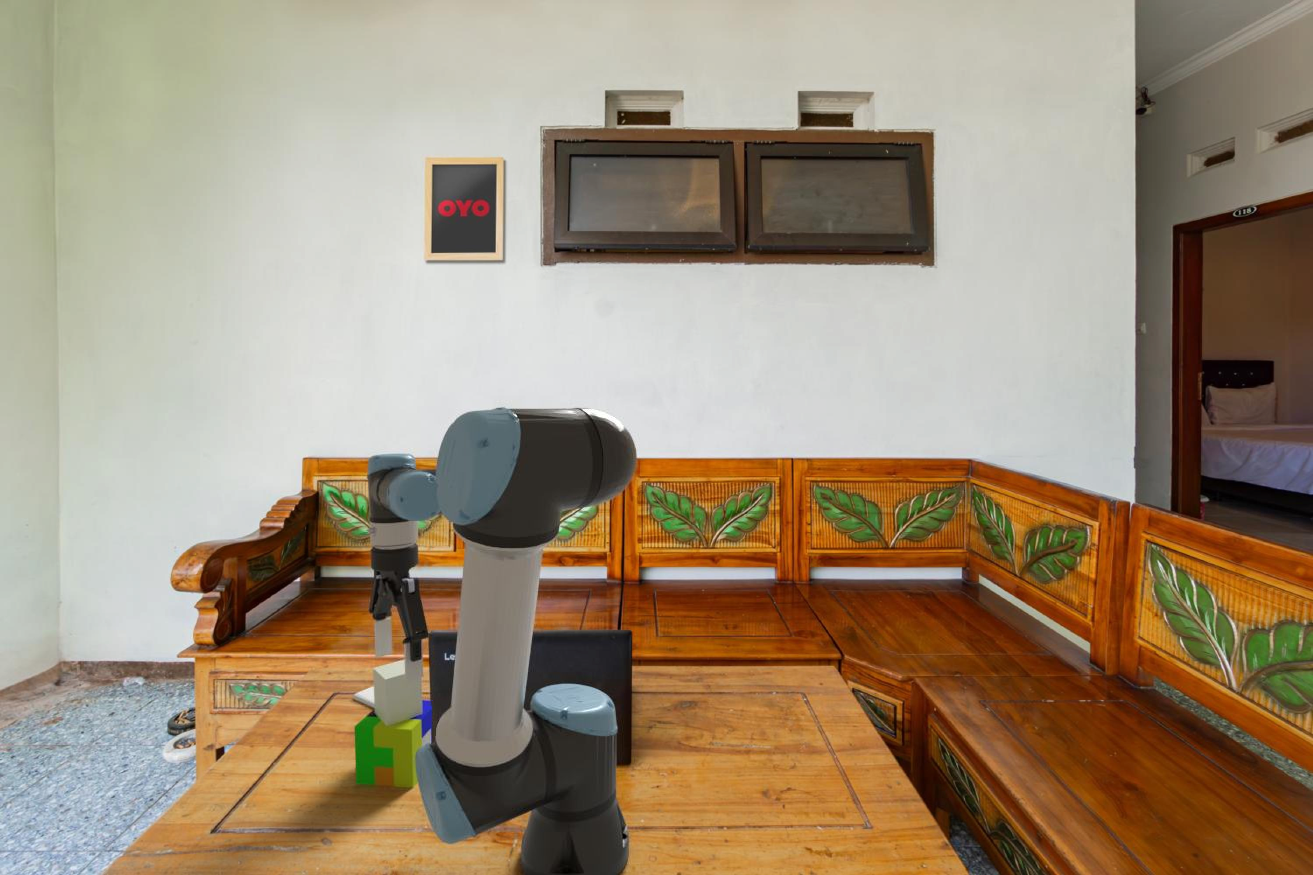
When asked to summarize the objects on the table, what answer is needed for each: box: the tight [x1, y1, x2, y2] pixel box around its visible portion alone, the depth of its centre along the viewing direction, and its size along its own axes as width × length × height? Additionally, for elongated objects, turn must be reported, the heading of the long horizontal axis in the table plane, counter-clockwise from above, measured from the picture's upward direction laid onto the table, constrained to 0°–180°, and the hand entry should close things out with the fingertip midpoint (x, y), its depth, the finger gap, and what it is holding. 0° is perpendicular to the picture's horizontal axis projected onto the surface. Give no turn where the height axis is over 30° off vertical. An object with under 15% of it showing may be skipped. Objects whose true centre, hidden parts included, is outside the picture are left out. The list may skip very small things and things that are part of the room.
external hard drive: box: [353, 685, 424, 709], centre depth 136 cm, size 2×8×12 cm
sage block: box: [372, 659, 423, 726], centre depth 109 cm, size 6×6×8 cm
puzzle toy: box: [354, 699, 432, 789], centre depth 110 cm, size 10×10×10 cm
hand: (398, 666), depth 109 cm, fingers open, 13 cm apart
